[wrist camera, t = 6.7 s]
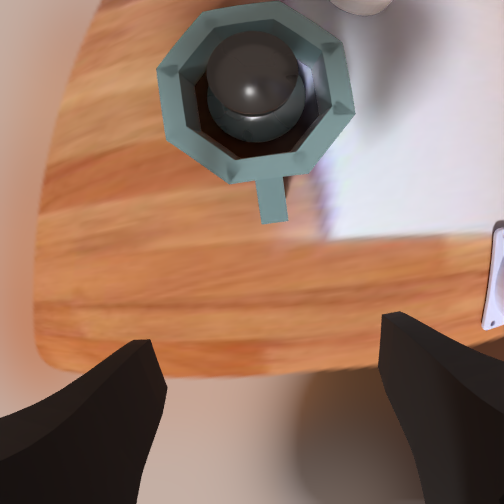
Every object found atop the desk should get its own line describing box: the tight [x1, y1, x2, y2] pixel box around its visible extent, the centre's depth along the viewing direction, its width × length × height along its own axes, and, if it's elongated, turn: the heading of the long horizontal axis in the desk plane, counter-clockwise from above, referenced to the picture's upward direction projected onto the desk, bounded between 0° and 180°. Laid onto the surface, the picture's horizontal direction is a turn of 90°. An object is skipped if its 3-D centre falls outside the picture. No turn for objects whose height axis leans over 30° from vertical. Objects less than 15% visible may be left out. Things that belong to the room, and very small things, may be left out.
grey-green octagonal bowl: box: [156, 1, 355, 224], centre depth 14 cm, size 8×10×4 cm
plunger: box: [207, 31, 305, 143], centre depth 13 cm, size 5×5×6 cm
